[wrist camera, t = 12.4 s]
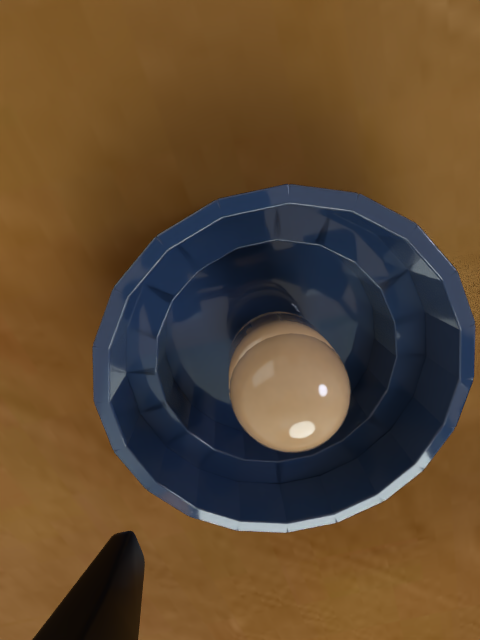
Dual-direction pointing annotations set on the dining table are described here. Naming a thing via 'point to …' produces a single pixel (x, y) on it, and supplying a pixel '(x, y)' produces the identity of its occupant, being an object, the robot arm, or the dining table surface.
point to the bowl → (319, 309)
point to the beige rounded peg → (287, 383)
